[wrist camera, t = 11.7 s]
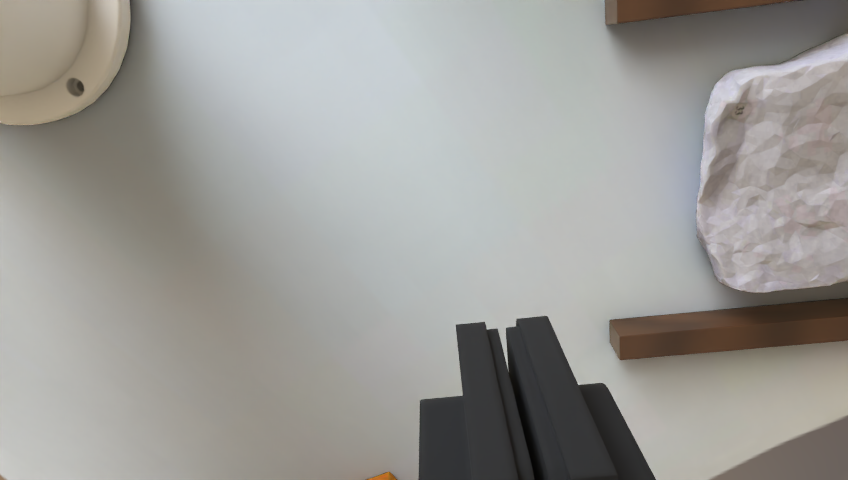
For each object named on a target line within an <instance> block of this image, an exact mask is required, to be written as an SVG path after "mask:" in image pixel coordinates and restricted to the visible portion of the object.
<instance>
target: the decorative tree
mask: <svg viewBox="0 0 848 480" xmlns="http://www.w3.org/2000/svg"><path fill="white" fill-rule="evenodd" d="M367 480H397V479H396V478H395V477H394V476H393V475H392V474H391V473H390V472H387V473H384V474H381V475H379V476H376V477H373V478H370V479H367Z"/></svg>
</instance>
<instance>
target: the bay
mask: <svg viewBox="0 0 848 480" xmlns="http://www.w3.org/2000/svg"><path fill="white" fill-rule="evenodd" d="M793 1H801V0H605V24H606V25H612V24H620V23H627V22H635V21H643V20H651V19H659V18H667V17H675V16H683V15H691V14H698V13H706V12H714V11H722V10H730V9H738V8H746V7H754V6H762V5H769V4H777V3H785V2H793ZM847 340H848V298H844V299H833V300H822V301H811V302H800V303H790V304H779V305H768V306H757V307H746V308H735V309H724V310H713V311H702V312H691V313H680V314H669V315H658V316H647V317H637V318H626V319H615V320H610V343H611V345H612V347H613V349H614V350H615V352H616V354H617V356H618V357H619V359H620V360H628V359H639V358H651V357H662V356H674V355H685V354H697V353H709V352H720V351H732V350H743V349H755V348H766V347H778V346H789V345H801V344H812V343H824V342H836V341H847Z"/></svg>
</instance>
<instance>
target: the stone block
mask: <svg viewBox="0 0 848 480" xmlns="http://www.w3.org/2000/svg"><path fill="white" fill-rule="evenodd" d="M704 116H705V125H704V135H703V158H702V161H701V169H700V176H701V177H700V189H699V193H698V196H697V210H696V224H697V237H698V239H699V240H700V242H701V244H702V246H703V247H704V249H705V250H706V252H707V254H708V256H709V259H710V263H711V265H712V269H713V270H714V273H715V277H716V279H717V280H718V281H719V282H721V283H722V284H724V285H727V286H729V287H731V288H734V289H737V290H740V291H744V292H752V293H763V292H765V293H766V292H773V291H780V290H790V289H791V290H792V289H803V288H812V287H819V286H830V285H832V284H835V283H839V282H843V281H848V33H845V34H843V35H840V36H838V37H836V38H833V39H832V40H830V41H829V42H827V43H824V44H821V45H818V46H816V47H813V48H811V49H809V50H807V51H804V52H802V53H801V54H799V55H797V56H795V57H794V58H792V59H790V60H788V61H785V62H782V63H780V64H776V65H765V66H753V67H749V68H742V69H737V70H733V71H730V72H728V73H726V74H724V75H723V77H722V78H721V79H720V80H719V81H718V82H717V83H716V84H715V86H714V88H713V90H712V92H711V96H710V100H709V103H708V106H707V109H706V112H705V115H704Z"/></svg>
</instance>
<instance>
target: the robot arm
mask: <svg viewBox="0 0 848 480" xmlns="http://www.w3.org/2000/svg"><path fill="white" fill-rule="evenodd" d="M130 24H131V15H130V0H0V123H2V124H8V125H36V124H41V123H47V122H52V121H57V120H60V119H63V118H65V117H68V116H71V115H74V114H76V113H78V112H80V111H81V110H83V109H84V108H86V107H87V106H89V105H91V104H92V103H94V102H95V101H96V100H97V99H98V98H99V97H100V96H101V94H102V93H103V92H104V91H105V90H106V89H107V88H108V87H109V86H110V84H111V82H112V81H113V79H114V77H115V76H116V74H117V72H118V71H119V69H120V67H121V64H122V61H123V58H124V55H125V52H126V49H127V47H128V39H129V32H130ZM82 84H83V86H84V89H83V87H82ZM456 331H457V341H458V351H459V361H460V370H461V380H462V390H463V396H456V397H445V398H434V399H423V400H421V401H420V436H419V480H656V479H655V477H654V475H653V473H652V471H651V469H650V468H649V466H648V464H647V462H646V460H645V458H644V456H643V454H642V452H641V450H640V449H639V447H638V445H637V443H636V441H635V439H634V437H633V435H632V433H631V431H630V429H629V428H628V426H627V424H626V422H625V420H624V418H623V416H622V414H621V412H620V410H619V409H618V407H617V405H616V403H615V401H614V399H613V397H612V395H611V393H610V391H609V390H608V388H607V387H606V385H605V384H603V383H596V384H586V385H578V384H577V382H576V379H575V377H574V375H573V373H572V370H571V368H570V366H569V364H568V361H567V359H566V357H565V355H564V352H563V350H562V348H561V346H560V343H559V341H558V339H557V337H556V334H555V332H554V330H553V328H552V325H551V323H550V321H549V319H548V317H547V316H542V317H532V318H521V319H517V321H516V327H509V328H506V339H507V353H508V368H509V373H508V369H507V365H506V361H505V357H504V353H503V349H502V345H501V341H500V337H499V333H498V329H489V330H487V329H486V325H485V322H480V323H470V324H460V325H456Z"/></svg>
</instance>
